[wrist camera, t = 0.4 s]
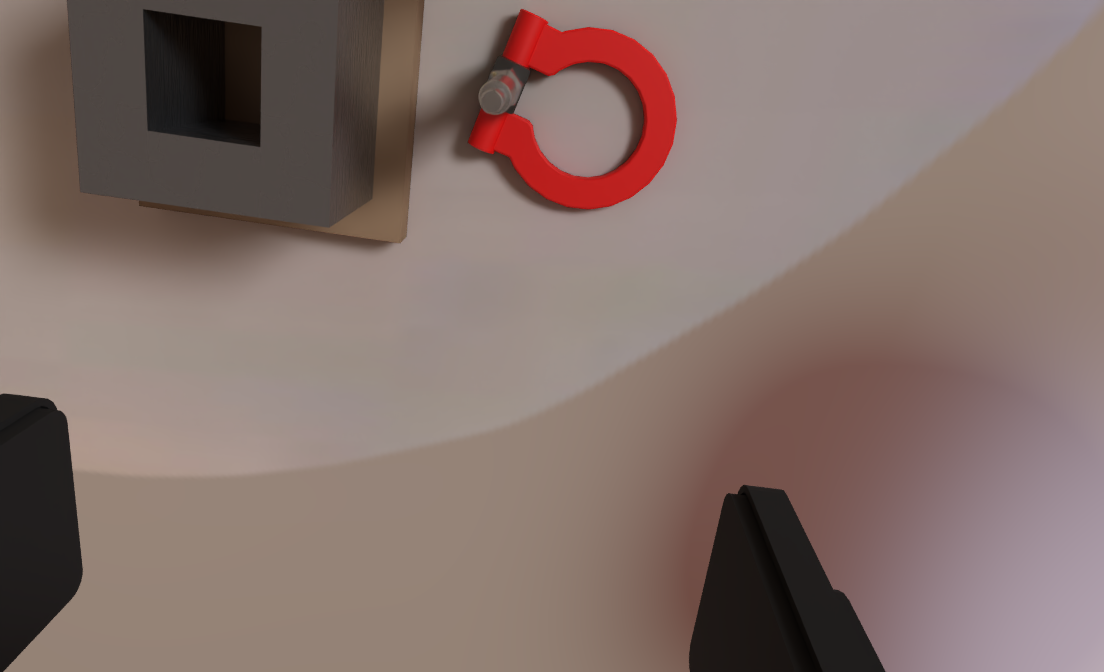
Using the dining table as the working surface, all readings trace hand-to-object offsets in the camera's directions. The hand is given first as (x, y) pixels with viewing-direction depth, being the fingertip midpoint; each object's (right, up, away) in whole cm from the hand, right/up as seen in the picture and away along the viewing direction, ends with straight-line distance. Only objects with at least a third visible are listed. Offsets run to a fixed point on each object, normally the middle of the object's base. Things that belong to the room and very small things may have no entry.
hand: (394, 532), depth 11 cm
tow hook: (+4, +14, +27) cm, 30 cm away
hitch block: (-11, +15, +25) cm, 31 cm away
